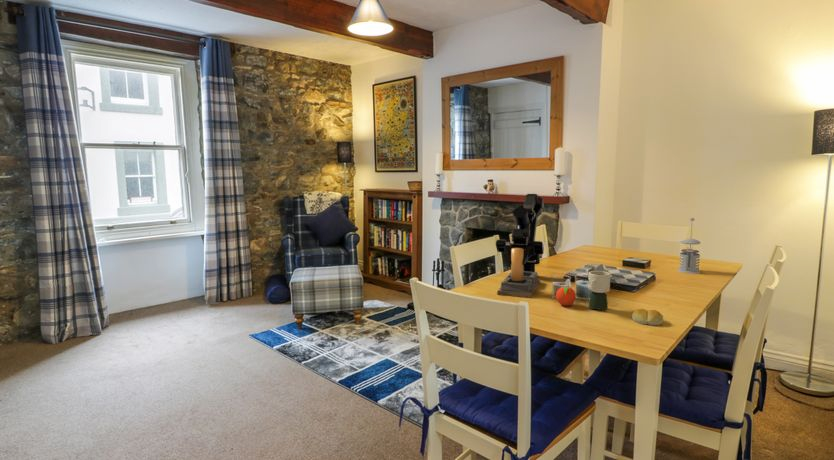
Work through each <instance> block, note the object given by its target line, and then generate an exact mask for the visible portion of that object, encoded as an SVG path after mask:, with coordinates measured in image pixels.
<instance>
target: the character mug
mask: <svg viewBox="0 0 834 460" xmlns="http://www.w3.org/2000/svg"><path fill="white" fill-rule="evenodd" d="M587 279H588V285H587V288H588V290H589V291H591V293H590V297H589V302H588V303H589V304H588V308H590V309H595V310H596V311H598V310H607V309H608V308H609V306H608V305H609V304H608V297H607V293H609V292H610V290H611V273H610V272H608V271H606V270H604V271H590V272H589V274H588V277H587Z"/></svg>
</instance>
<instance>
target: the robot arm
mask: <svg viewBox="0 0 834 460" xmlns="http://www.w3.org/2000/svg"><path fill="white" fill-rule="evenodd" d="M544 207H545V203H544V199H543V198H542V197H540V196H539V194H538V193H527V194H526V195H525V198H524V202H523V204H522V205H521V204H519V205H518V207H516V208H514V209H513V210H512V216H513V221H514V224H515V228H512V229H511V241H512V243H511V242H509V241H508V240H507V239H496V241H495V248H496V251H497V252H499V253H505V255H507V256H508V257H507V258H508V261H509V265H511V249H512V248H523V249H524V258H523V271H528V272H536V265H540V264H541V262H540V260H541V259H540V255H544V250H545V248H544V242H542V241H540V240H539V241H538V240H536V232H537V227H538V226H537V225H538V218H539V217H540V216H541V215H542V213H543V209H544Z"/></svg>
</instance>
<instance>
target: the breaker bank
mask: <svg viewBox="0 0 834 460" xmlns="http://www.w3.org/2000/svg"><path fill="white" fill-rule="evenodd" d="M540 283H541V278H538V272H537V271H535V272H528V271H523V280H522V281H513V280H511V272H510V273H509V274H508V275H507V276H506V277H505V278H504V279H501V282H500V286H499V287H500V288H499V289H498V290H497V293H496V294H497V296H498V295H499V296H507V297H520V298H530V299H531V298H532V296H533V295H534V293H535V291H536V289H538V286H539V285H540Z"/></svg>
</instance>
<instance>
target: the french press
mask: <svg viewBox="0 0 834 460" xmlns="http://www.w3.org/2000/svg"><path fill="white" fill-rule="evenodd" d="M689 221H691V222H693V221H695V218H694V217H690V218H689ZM690 228H691V229H690V235H692V233H693V232H692V231H693V224H691V227H690ZM680 243H681V244H682V245H683V244H685V245H689V246H690V247H687V249H686V248H685V249H683V248H682V249H681V252H680V253H679V256H680V257H679V267H678V268H677V269H676V271H677V272H679V273H683V274H692V275H693V274H695V275H696V274H701V273H702V272H701V270H700V267H699V266H700V259H701V258H700V257H701V255H700V253H699V252H700V251H699V250H698V249H697V250H696V249H694V248H693V247H694V246H693V245H701V244H702V242H701V241H700V240H698V239H695V238H692V237H690V238H685V239H682V240H680Z"/></svg>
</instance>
